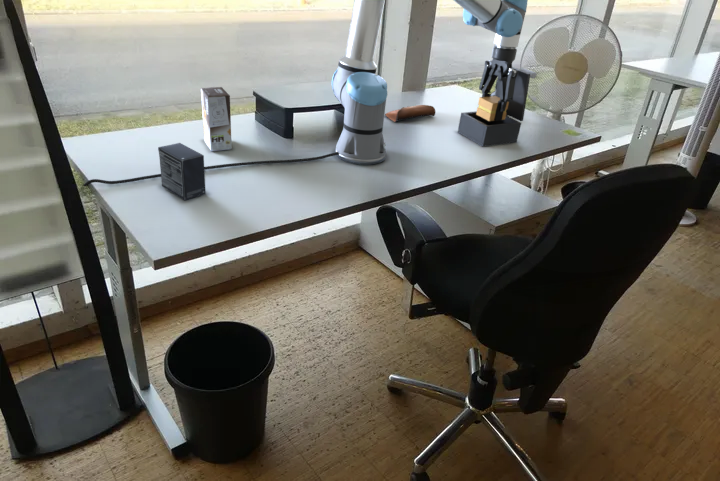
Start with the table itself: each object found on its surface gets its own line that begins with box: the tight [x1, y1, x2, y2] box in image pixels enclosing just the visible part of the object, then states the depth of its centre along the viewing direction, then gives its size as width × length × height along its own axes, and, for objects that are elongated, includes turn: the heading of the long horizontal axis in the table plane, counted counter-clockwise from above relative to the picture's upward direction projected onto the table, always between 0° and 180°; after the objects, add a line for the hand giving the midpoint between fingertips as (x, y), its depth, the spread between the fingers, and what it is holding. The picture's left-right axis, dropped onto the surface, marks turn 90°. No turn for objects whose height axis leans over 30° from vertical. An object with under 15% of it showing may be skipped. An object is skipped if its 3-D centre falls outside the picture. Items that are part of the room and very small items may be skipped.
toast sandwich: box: [476, 96, 509, 121], centre depth 186 cm, size 7×7×6 cm
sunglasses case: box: [384, 104, 436, 123], centre depth 202 cm, size 18×7×7 cm
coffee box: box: [200, 86, 233, 152], centre depth 160 cm, size 9×6×16 cm
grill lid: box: [495, 66, 537, 122], centre depth 187 cm, size 16×14×8 cm
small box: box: [157, 142, 207, 201], centre depth 134 cm, size 11×6×10 cm, turn 48°
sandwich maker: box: [457, 110, 522, 147], centre depth 189 cm, size 15×14×7 cm
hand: (490, 116), depth 187 cm, fingers closed on toast sandwich, 7 cm apart
